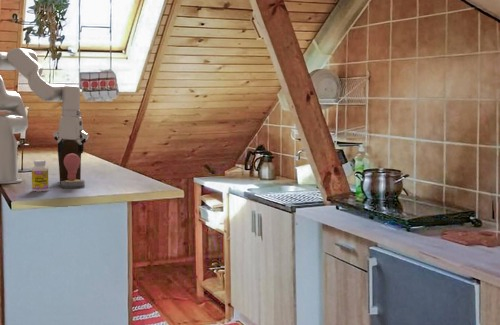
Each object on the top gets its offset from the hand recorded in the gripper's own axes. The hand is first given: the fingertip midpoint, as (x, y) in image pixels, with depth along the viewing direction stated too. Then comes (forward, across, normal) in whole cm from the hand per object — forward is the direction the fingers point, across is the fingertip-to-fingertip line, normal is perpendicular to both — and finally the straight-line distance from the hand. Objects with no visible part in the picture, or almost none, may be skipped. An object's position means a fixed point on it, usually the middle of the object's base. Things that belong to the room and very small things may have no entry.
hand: (70, 152), depth 284 cm
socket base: (+15, -1, 0) cm, 15 cm away
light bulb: (+12, -1, 0) cm, 13 cm away
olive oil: (+16, +9, -14) cm, 23 cm away
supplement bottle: (+16, +6, +14) cm, 22 cm away
